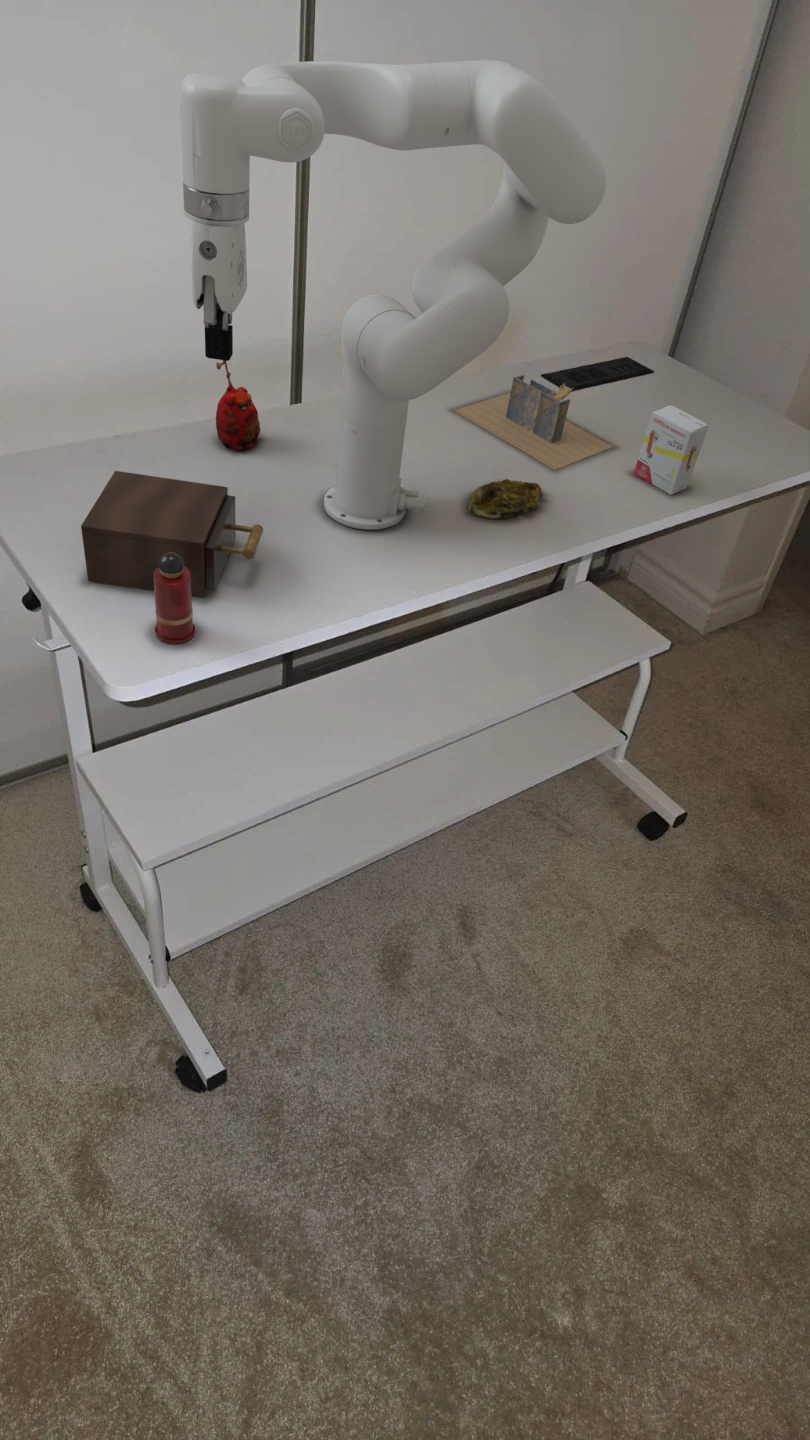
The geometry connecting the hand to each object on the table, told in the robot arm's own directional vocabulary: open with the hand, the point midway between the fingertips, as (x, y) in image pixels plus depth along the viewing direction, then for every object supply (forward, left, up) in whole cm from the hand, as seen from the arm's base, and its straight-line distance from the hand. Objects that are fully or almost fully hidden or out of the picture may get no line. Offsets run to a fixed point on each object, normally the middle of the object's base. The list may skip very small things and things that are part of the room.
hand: (219, 356), depth 124 cm
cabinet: (+6, +11, -25) cm, 28 cm away
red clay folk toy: (+3, -25, -25) cm, 36 cm away
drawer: (+2, +11, -24) cm, 27 cm away
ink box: (-69, -33, -25) cm, 81 cm away
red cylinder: (0, +26, -25) cm, 36 cm away
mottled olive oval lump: (-42, -18, -25) cm, 52 cm away
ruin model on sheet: (-47, -46, -25) cm, 70 cm away
